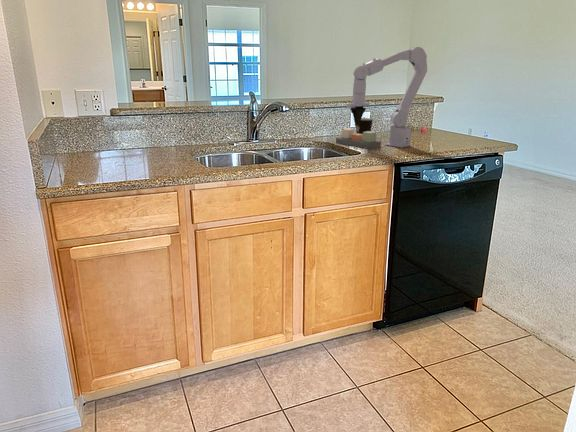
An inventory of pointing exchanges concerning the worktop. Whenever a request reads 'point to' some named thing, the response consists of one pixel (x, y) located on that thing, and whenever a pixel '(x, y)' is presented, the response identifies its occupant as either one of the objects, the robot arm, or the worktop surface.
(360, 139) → the block terracotta
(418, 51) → the robot arm
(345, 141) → the compartment tray
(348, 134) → the block cream
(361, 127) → the coffee mug
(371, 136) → the block sage
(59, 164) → the worktop surface
